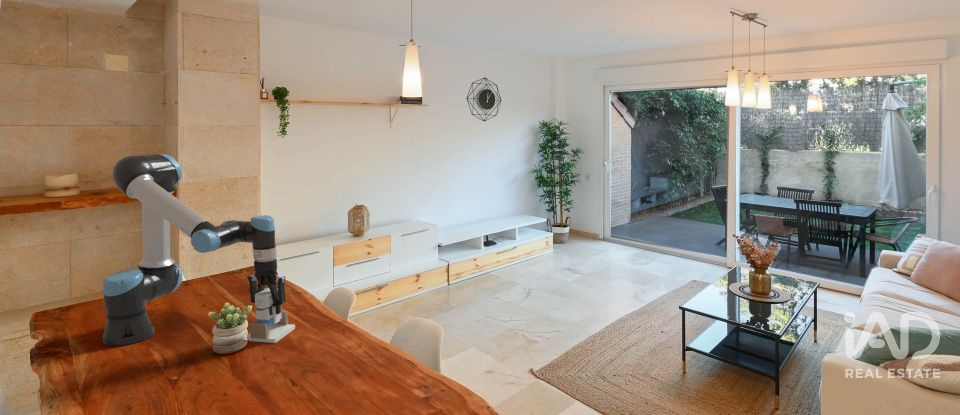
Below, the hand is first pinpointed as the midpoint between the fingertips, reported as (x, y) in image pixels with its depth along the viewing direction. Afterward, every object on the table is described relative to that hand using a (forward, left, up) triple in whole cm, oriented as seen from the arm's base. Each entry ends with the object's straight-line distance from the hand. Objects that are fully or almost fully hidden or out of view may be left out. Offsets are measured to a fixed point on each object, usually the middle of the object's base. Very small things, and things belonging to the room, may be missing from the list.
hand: (269, 321), depth 180 cm
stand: (0, 0, -5) cm, 5 cm away
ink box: (0, 0, 0) cm, 0 cm away
